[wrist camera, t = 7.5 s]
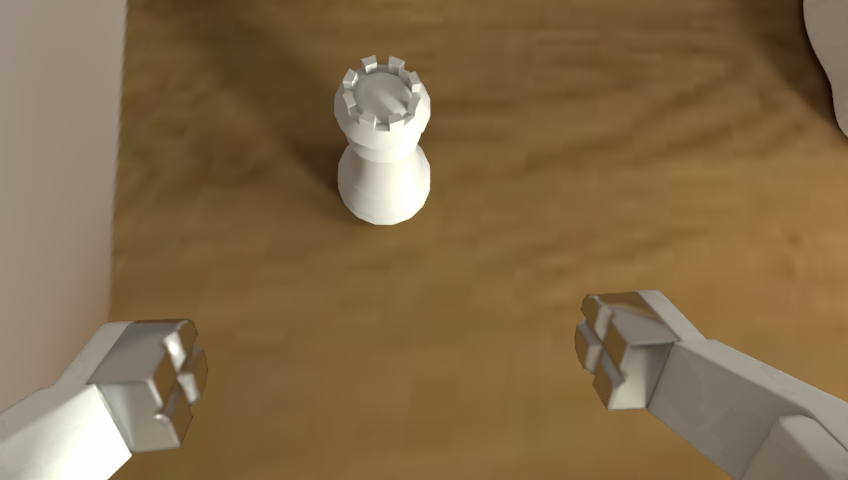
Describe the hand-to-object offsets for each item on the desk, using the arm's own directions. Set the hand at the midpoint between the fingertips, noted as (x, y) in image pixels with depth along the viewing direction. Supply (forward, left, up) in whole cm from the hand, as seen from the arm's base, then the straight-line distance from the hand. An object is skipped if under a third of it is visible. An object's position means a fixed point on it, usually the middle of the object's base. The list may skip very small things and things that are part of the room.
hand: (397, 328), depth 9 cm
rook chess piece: (+5, -5, -11) cm, 13 cm away
